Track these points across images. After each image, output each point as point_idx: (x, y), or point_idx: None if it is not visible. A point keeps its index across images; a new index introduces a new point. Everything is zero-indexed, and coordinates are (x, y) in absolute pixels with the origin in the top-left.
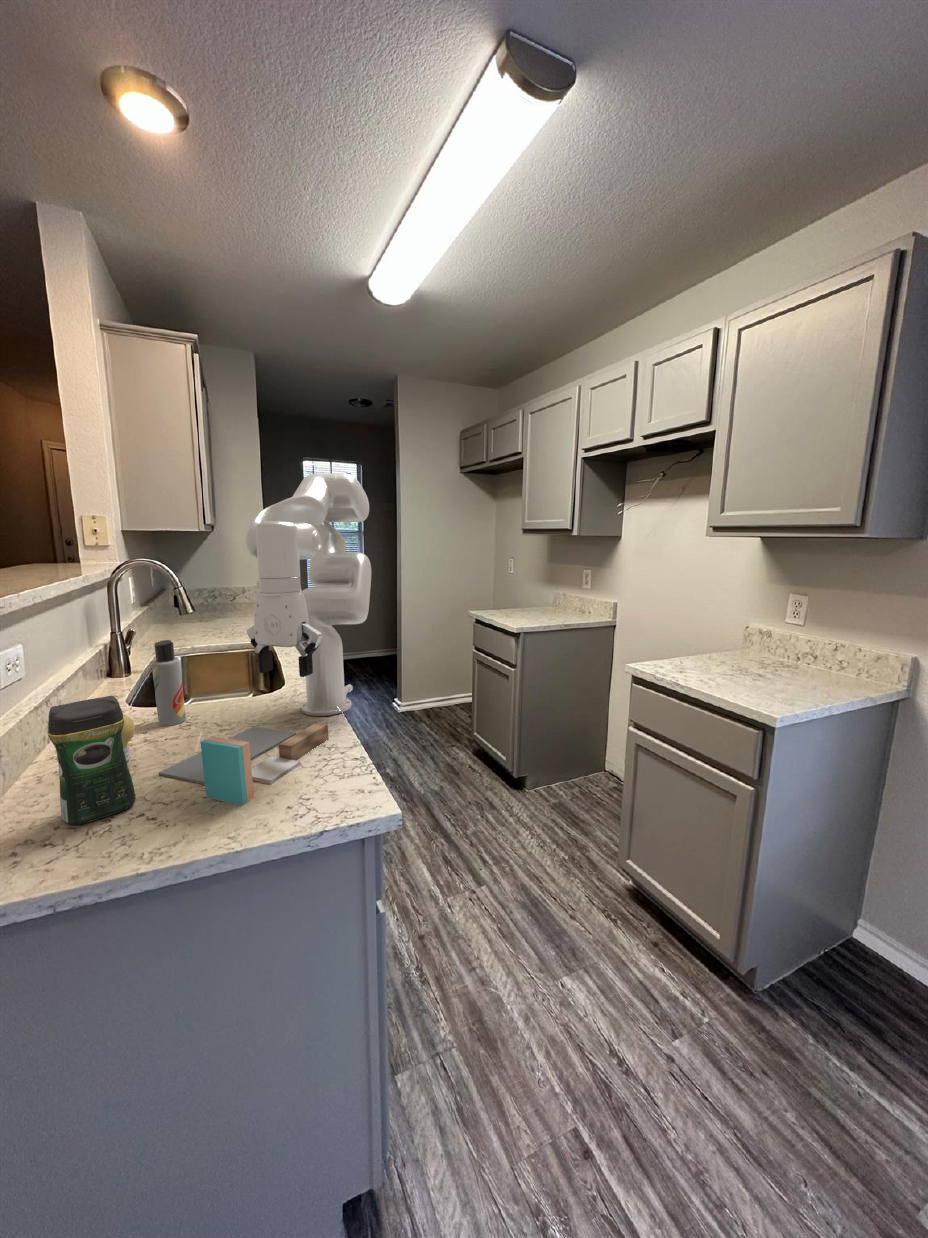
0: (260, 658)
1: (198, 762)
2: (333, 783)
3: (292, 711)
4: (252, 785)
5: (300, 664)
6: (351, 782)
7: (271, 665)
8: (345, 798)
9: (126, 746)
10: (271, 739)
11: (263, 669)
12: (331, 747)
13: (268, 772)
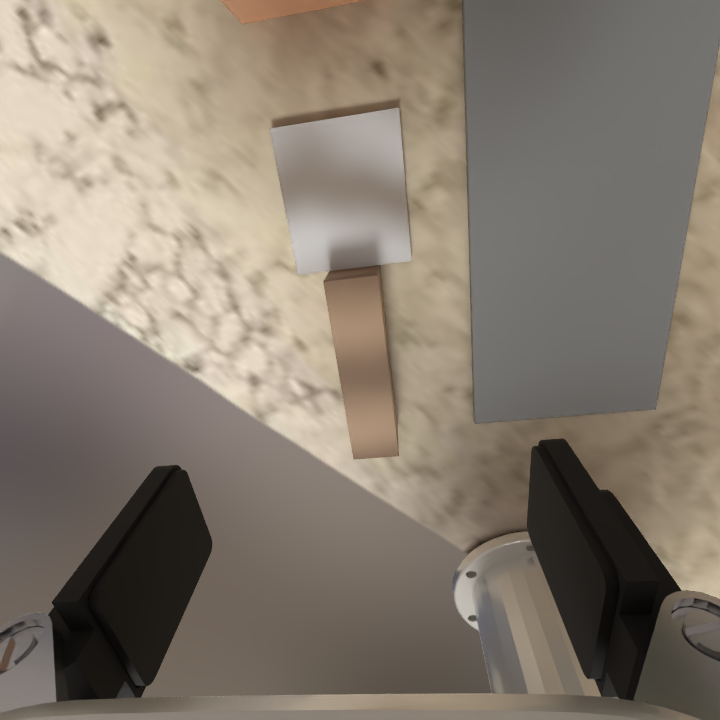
0: (595, 532)
1: (634, 103)
2: (122, 224)
3: None
4: (226, 5)
5: (110, 536)
6: (88, 252)
7: (539, 546)
8: (23, 171)
9: None
10: (514, 357)
11: (541, 467)
12: (309, 394)
13: (324, 167)
